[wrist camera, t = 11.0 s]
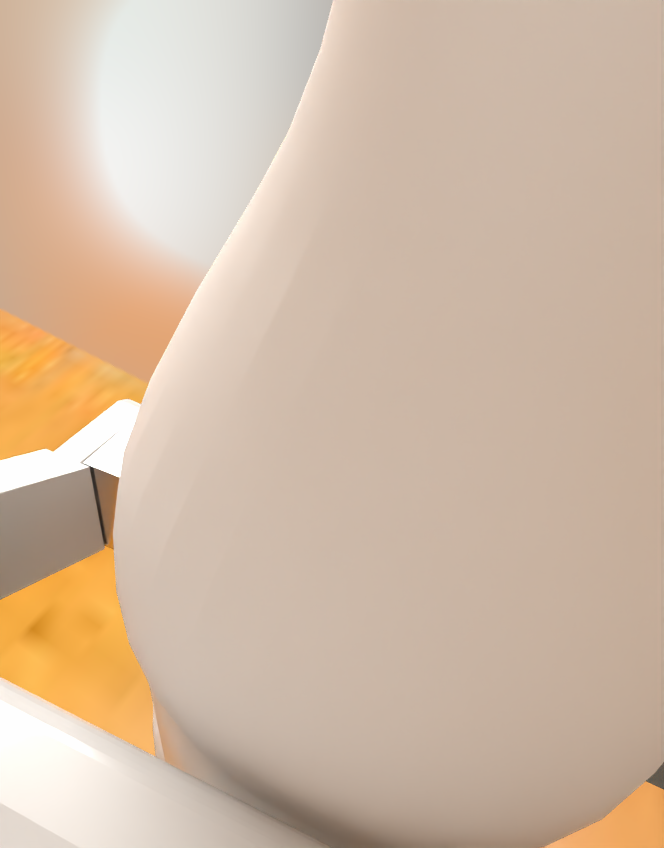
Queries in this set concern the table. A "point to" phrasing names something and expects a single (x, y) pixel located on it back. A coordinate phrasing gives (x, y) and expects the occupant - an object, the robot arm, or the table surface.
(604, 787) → the water bottle
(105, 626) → the table surface
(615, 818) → the table surface
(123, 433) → the robot arm
